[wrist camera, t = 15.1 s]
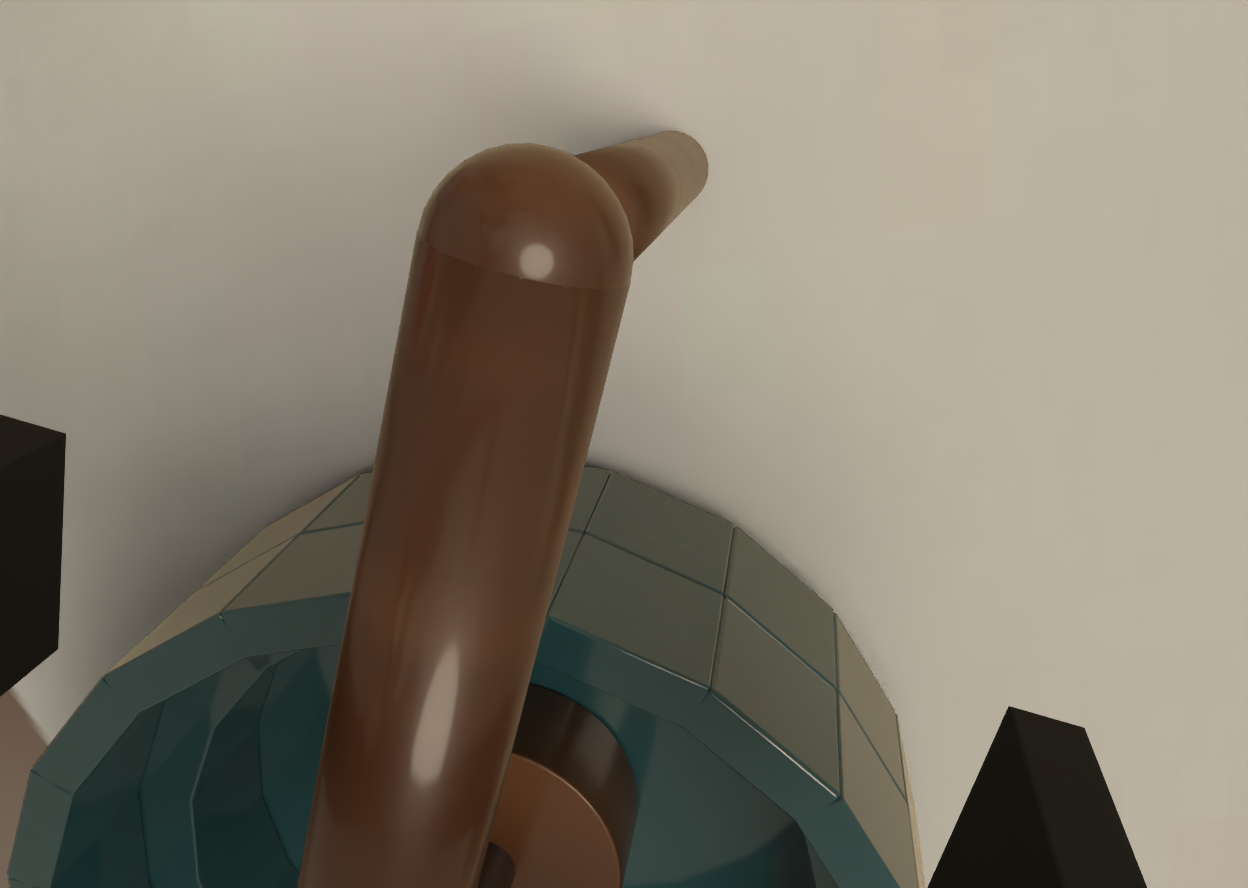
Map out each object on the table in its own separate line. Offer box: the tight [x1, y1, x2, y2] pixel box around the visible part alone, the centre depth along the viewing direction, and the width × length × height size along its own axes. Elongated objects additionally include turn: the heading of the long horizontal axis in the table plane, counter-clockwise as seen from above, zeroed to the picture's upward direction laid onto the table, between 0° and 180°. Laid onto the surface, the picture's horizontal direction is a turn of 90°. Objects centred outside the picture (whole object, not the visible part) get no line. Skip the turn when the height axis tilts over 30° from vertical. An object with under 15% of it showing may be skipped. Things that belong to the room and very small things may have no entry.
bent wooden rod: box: [297, 131, 708, 888], centre depth 15 cm, size 16×5×12 cm, turn 166°
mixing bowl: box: [7, 467, 926, 888], centre depth 21 cm, size 16×16×6 cm
